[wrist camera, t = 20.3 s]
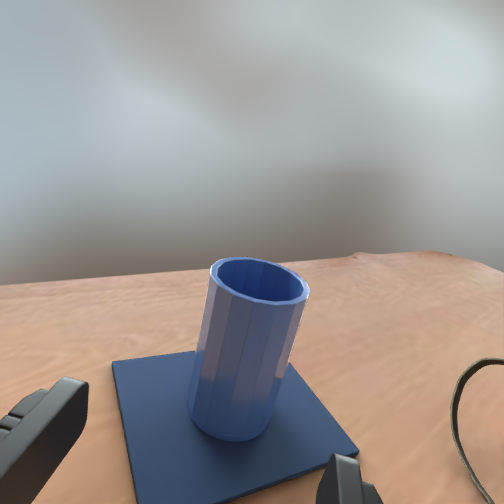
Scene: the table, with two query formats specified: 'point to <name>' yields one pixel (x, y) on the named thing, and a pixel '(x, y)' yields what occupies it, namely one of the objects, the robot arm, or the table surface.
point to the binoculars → (454, 408)
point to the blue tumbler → (244, 346)
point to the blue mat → (209, 448)
